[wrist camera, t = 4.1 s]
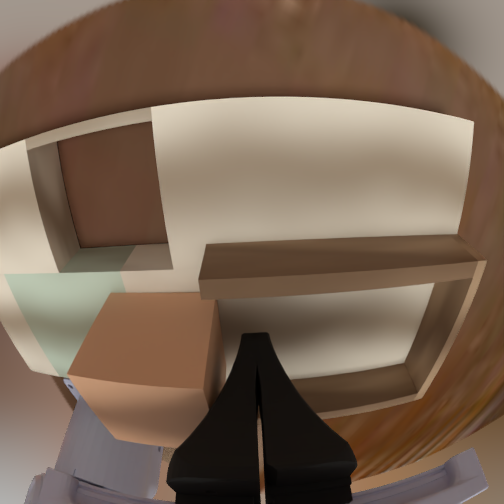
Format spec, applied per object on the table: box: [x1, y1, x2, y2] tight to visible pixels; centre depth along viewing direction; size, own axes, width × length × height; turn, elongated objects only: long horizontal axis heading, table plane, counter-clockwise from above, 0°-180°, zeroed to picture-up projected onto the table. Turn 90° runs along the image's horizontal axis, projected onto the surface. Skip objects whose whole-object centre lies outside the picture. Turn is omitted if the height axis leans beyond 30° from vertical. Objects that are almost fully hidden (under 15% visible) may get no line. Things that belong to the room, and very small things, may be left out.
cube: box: [67, 292, 226, 448], centre depth 12 cm, size 5×5×5 cm
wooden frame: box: [198, 234, 487, 425], centre depth 13 cm, size 10×12×2 cm
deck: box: [0, 97, 474, 380], centre depth 14 cm, size 15×26×2 cm, turn 92°
